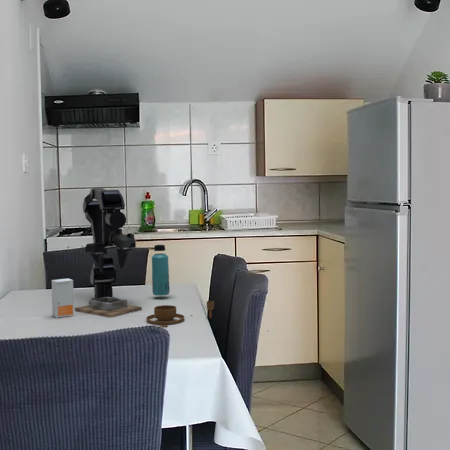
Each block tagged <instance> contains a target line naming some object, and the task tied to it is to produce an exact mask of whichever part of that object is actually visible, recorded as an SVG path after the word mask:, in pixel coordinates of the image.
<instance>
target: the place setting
mask: <svg viewBox="0 0 450 450" xmlns="http://www.w3.org/2000/svg"><path fill="white" fill-rule="evenodd" d="M206 309H207V310H208V319H212V318H213V317H212V316H213V313H212V311H213V310H214V309H215V301H214V300H207V301H206ZM153 310H154V311H153V312H154V313H153V314H149V315H148V316H146V322H147V323H148V324H150V325H154V326H160V327H161V328H167V327H169V326H170V325H177V324H180V323H183V322H184V320H185V315H183V314H180V313H177V306H175V305H170V304H169V305H168V304H167V305H163V304H162V305H156V306H154V308H153ZM192 316H193V314H191V315H190V317H192ZM153 318H154V319H156V320H154V319H153ZM175 318H177V319H175ZM150 319H151V320H150ZM174 319H175V320H174Z"/></svg>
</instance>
